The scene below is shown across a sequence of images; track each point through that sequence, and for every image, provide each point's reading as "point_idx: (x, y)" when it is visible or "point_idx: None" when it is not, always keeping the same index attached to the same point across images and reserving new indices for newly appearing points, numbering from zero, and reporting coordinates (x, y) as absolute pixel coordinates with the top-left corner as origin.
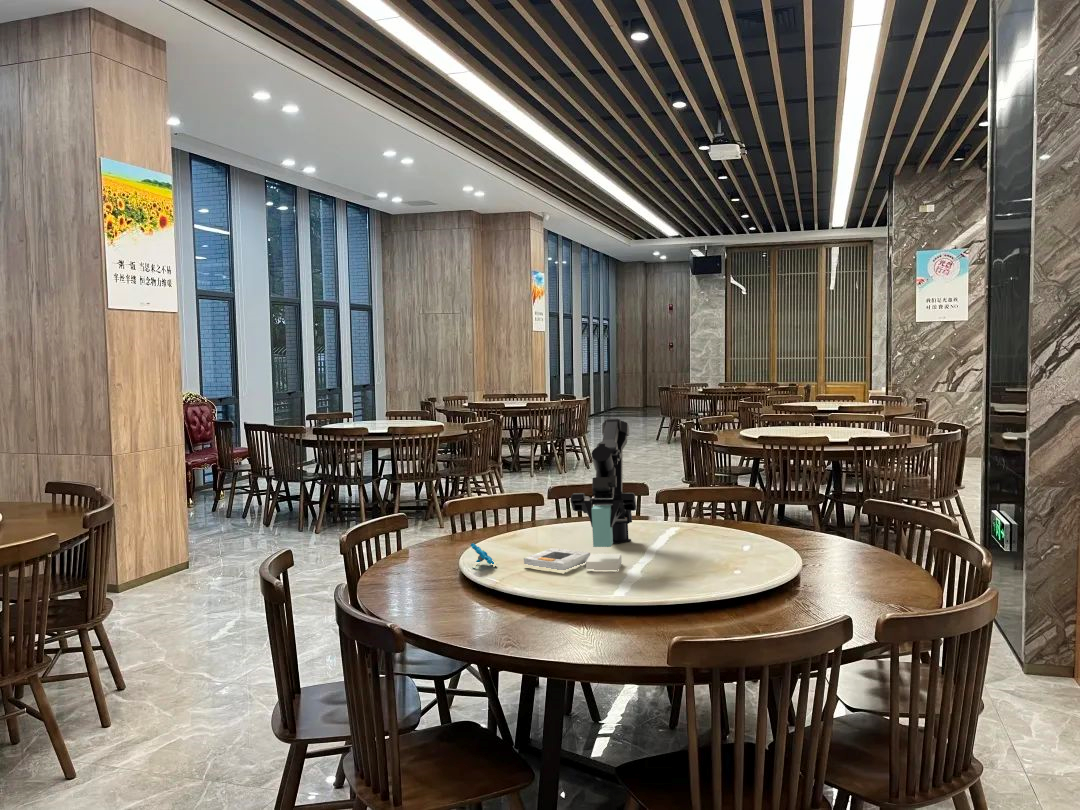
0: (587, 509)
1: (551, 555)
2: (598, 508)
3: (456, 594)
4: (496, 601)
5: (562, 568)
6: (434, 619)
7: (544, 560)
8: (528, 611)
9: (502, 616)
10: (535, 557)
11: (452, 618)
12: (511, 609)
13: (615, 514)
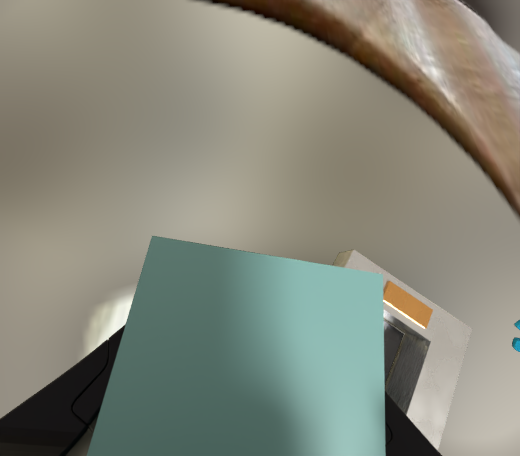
0: (428, 446)
1: (403, 393)
2: (297, 280)
3: (500, 149)
4: (423, 101)
5: (347, 252)
6: (477, 50)
7: (409, 293)
8: (363, 48)
9: (394, 38)
10: (443, 334)
11: (456, 47)
12: (390, 61)
13: (100, 350)
